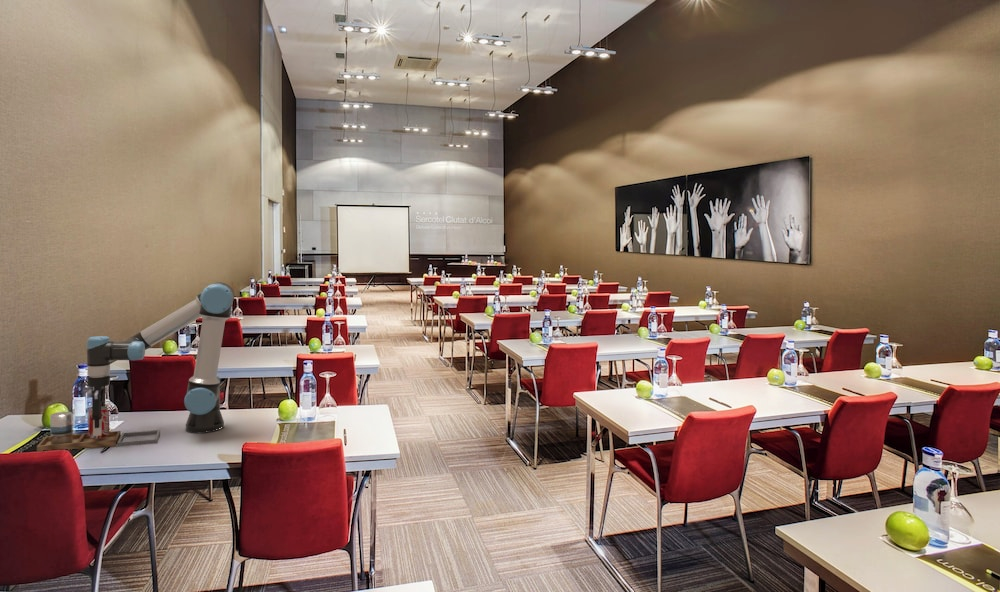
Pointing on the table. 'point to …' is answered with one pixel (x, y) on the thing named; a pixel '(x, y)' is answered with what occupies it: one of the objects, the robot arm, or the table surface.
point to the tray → (138, 440)
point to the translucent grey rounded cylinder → (61, 428)
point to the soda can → (104, 424)
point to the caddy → (81, 442)
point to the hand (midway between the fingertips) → (99, 432)
